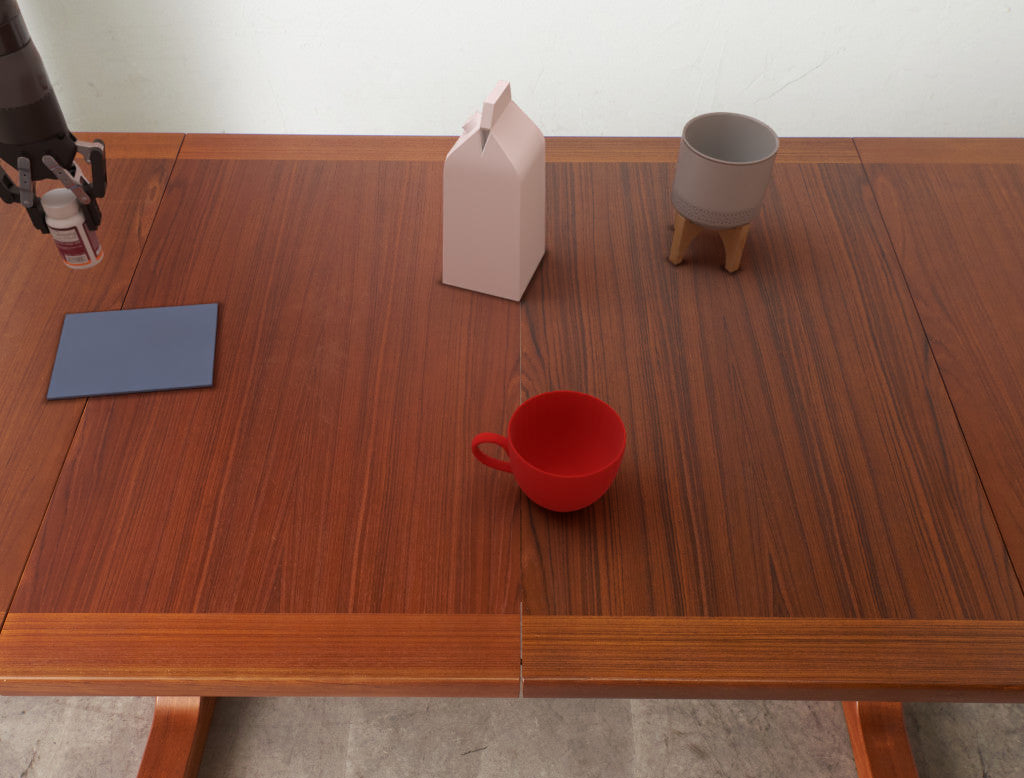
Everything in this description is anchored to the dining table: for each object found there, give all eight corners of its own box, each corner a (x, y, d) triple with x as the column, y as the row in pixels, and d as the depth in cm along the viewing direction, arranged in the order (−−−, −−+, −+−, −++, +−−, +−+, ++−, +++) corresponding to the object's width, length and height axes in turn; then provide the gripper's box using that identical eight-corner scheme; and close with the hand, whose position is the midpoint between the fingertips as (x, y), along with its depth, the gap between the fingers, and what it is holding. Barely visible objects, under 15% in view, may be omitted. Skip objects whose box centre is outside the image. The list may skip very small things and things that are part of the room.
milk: (518, 301, 126) (526, 124, 105) (442, 283, 128) (435, 106, 108) (544, 252, 133) (556, 78, 113) (471, 235, 135) (470, 61, 115)
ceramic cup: (475, 445, 109) (474, 385, 101) (613, 451, 109) (624, 392, 101) (468, 530, 101) (467, 473, 93) (618, 536, 101) (629, 480, 93)
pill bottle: (87, 241, 112) (62, 181, 105) (112, 256, 110) (89, 195, 103) (55, 260, 109) (27, 199, 103) (80, 275, 108) (54, 214, 101)
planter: (766, 256, 134) (799, 145, 120) (701, 286, 129) (728, 173, 115) (707, 213, 140) (733, 102, 126) (644, 240, 136) (662, 128, 122)
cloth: (47, 400, 112) (46, 398, 111) (66, 316, 121) (65, 314, 121) (212, 386, 114) (211, 384, 114) (218, 305, 124) (217, 303, 123)
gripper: (88, 65, 96) (137, 206, 109) (-54, 72, 94) (13, 214, 108) (79, 101, 91) (130, 243, 105) (-71, 108, 90) (1, 252, 103)
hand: (70, 227), depth 106 cm, fingers closed on pill bottle, 4 cm apart
